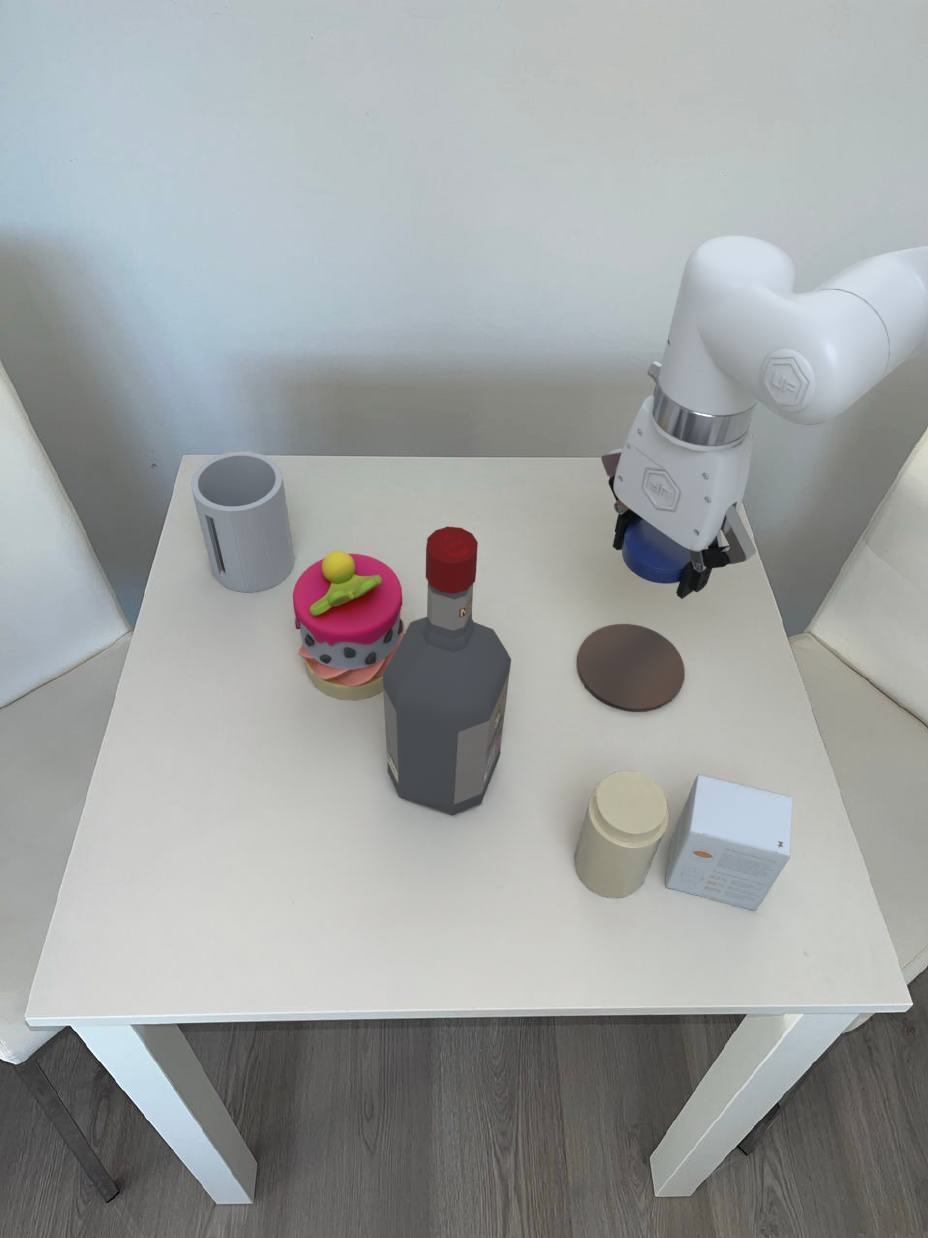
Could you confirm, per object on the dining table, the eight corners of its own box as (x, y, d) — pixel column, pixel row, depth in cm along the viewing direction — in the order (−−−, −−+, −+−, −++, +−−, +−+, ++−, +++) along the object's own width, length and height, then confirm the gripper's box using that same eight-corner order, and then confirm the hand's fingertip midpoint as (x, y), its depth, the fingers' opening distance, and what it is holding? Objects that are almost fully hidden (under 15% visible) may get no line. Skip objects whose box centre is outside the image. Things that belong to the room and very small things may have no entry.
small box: (760, 855, 83) (796, 796, 75) (756, 913, 80) (793, 858, 72) (671, 832, 84) (697, 771, 76) (662, 888, 81) (689, 830, 73)
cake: (281, 657, 96) (262, 555, 84) (362, 606, 101) (354, 503, 89) (344, 721, 91) (333, 622, 80) (426, 665, 96) (426, 564, 84)
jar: (652, 843, 84) (678, 779, 75) (639, 908, 80) (665, 848, 71) (583, 822, 85) (600, 757, 76) (566, 885, 81) (583, 824, 72)
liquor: (505, 746, 90) (533, 519, 67) (473, 827, 84) (493, 609, 61) (416, 718, 92) (415, 487, 69) (379, 795, 86) (365, 571, 63)
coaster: (691, 643, 99) (693, 640, 98) (672, 725, 92) (674, 721, 92) (590, 616, 101) (591, 612, 100) (565, 694, 94) (565, 690, 94)
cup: (302, 537, 107) (291, 455, 98) (283, 596, 101) (270, 515, 92) (224, 529, 107) (205, 447, 98) (201, 587, 102) (179, 506, 92)
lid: (604, 551, 84) (607, 537, 83) (655, 515, 87) (659, 501, 86) (664, 596, 81) (668, 582, 79) (715, 557, 84) (720, 543, 82)
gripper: (586, 370, 74) (560, 531, 87) (765, 486, 66) (705, 644, 79) (649, 336, 77) (615, 497, 91) (826, 443, 69) (759, 601, 83)
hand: (657, 564), depth 85 cm, fingers closed on lid, 7 cm apart
